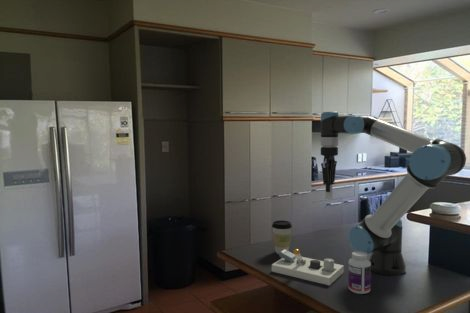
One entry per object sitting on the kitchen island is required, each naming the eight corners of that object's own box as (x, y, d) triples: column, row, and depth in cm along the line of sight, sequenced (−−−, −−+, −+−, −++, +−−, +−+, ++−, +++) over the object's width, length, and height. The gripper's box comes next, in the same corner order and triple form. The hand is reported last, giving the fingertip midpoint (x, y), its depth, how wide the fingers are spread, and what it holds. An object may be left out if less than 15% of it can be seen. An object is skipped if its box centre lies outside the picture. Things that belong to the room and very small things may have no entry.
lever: (304, 260, 165) (299, 248, 160) (302, 265, 163) (297, 253, 158) (299, 258, 166) (293, 247, 161) (297, 263, 165) (291, 252, 160)
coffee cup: (291, 256, 183) (291, 225, 181) (271, 255, 185) (270, 224, 183) (292, 249, 192) (292, 220, 191) (273, 248, 194) (272, 219, 193)
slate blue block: (295, 259, 169) (296, 254, 168) (290, 262, 165) (291, 257, 165) (283, 253, 172) (284, 248, 171) (278, 256, 168) (280, 251, 168)
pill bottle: (365, 285, 149) (366, 249, 147) (374, 294, 141) (374, 257, 139) (345, 286, 148) (345, 250, 147) (352, 295, 140) (352, 257, 139)
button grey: (335, 269, 158) (335, 259, 158) (331, 272, 155) (331, 262, 154) (325, 267, 160) (325, 257, 160) (321, 270, 157) (322, 260, 157)
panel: (343, 272, 162) (343, 261, 162) (329, 285, 149) (329, 274, 149) (289, 260, 177) (288, 250, 177) (271, 271, 164) (271, 261, 164)
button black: (321, 270, 162) (321, 261, 161) (317, 273, 158) (317, 264, 158) (312, 268, 164) (312, 259, 164) (308, 271, 161) (308, 262, 160)
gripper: (326, 145, 177) (326, 195, 179) (315, 147, 167) (315, 200, 169) (342, 145, 173) (342, 197, 175) (331, 147, 163) (331, 202, 165)
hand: (328, 198), depth 172 cm, fingers closed
